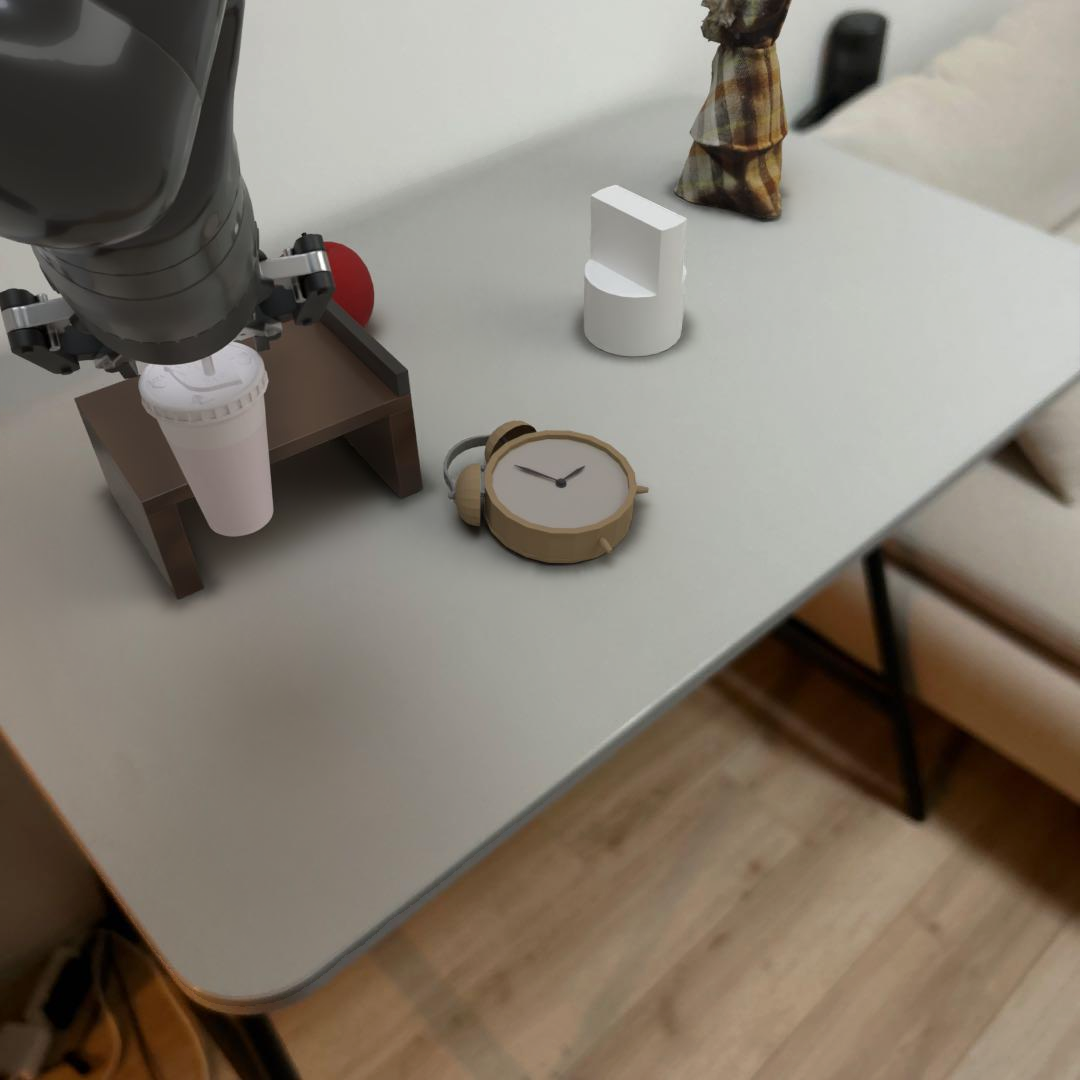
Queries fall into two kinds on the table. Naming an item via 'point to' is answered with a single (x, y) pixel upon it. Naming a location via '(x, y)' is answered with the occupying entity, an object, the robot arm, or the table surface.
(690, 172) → the plaid figurine
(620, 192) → the cylinder with rectangular tab
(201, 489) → the smoothie
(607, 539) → the alarm clock
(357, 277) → the apple
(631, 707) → the table surface
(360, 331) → the shelf
